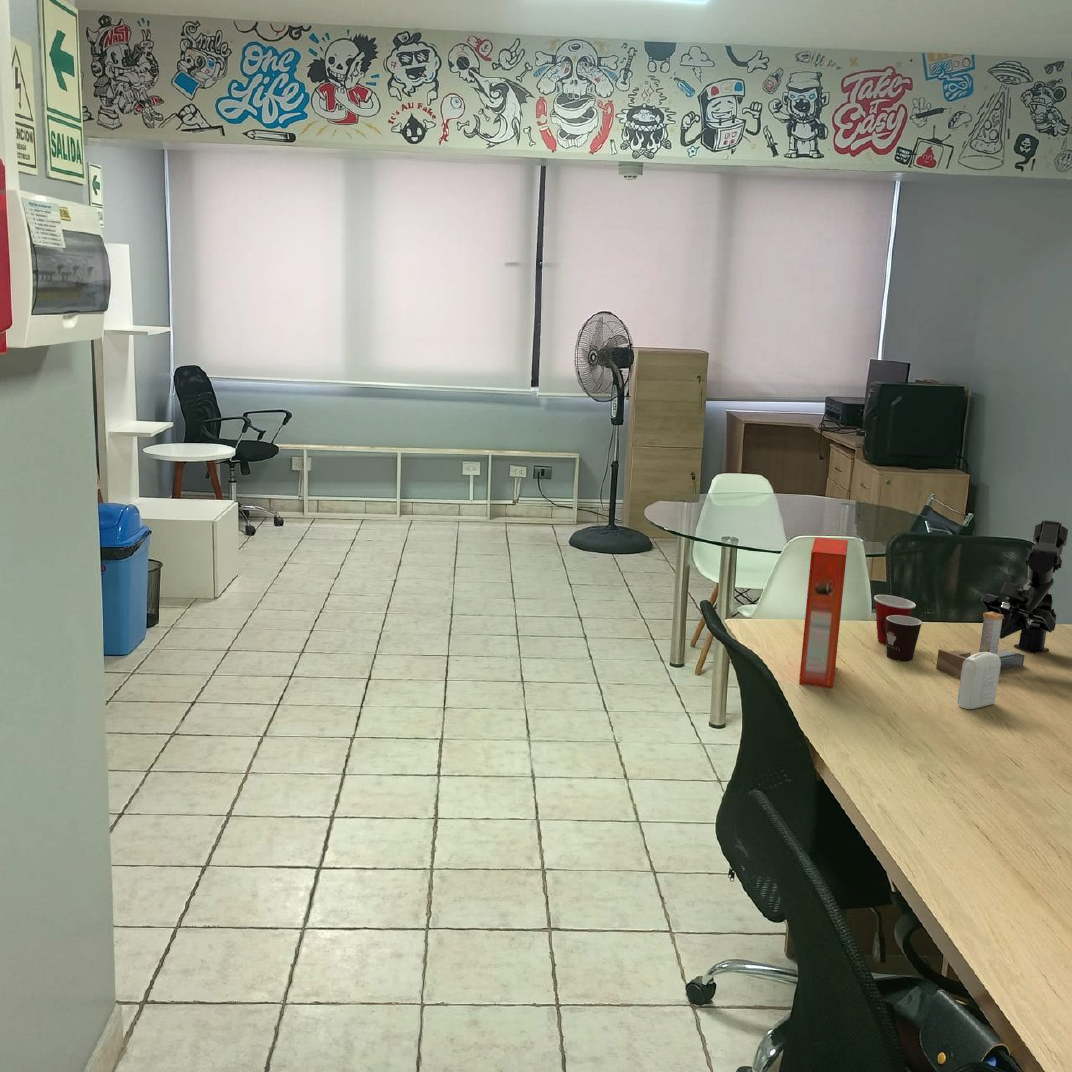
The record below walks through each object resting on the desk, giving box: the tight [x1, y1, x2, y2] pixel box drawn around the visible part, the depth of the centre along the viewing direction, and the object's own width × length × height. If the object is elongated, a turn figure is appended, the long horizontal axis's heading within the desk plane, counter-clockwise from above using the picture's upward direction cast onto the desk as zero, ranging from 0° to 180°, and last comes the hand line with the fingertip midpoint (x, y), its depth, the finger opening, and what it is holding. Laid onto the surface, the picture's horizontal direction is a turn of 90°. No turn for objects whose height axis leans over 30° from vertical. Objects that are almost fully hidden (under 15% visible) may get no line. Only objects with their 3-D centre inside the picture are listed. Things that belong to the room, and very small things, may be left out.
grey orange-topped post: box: [978, 611, 1018, 658], centre depth 276 cm, size 13×3×13 cm, turn 120°
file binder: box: [798, 537, 849, 689], centre depth 261 cm, size 8×17×32 cm, turn 163°
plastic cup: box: [873, 594, 917, 646], centre depth 292 cm, size 11×11×12 cm
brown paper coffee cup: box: [880, 615, 923, 663], centre depth 281 cm, size 12×9×10 cm
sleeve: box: [999, 649, 1025, 671], centre depth 278 cm, size 12×5×3 cm, turn 120°
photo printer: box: [956, 652, 1001, 710], centre depth 247 cm, size 10×4×12 cm, turn 123°
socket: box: [935, 648, 972, 679], centre depth 271 cm, size 9×9×5 cm
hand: (999, 637), depth 275 cm, fingers closed
